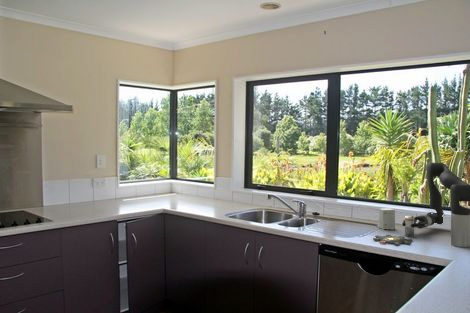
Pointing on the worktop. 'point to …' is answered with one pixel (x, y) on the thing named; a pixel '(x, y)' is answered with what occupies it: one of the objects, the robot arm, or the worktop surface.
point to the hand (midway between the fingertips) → (407, 225)
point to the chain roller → (409, 226)
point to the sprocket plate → (393, 240)
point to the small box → (387, 218)
